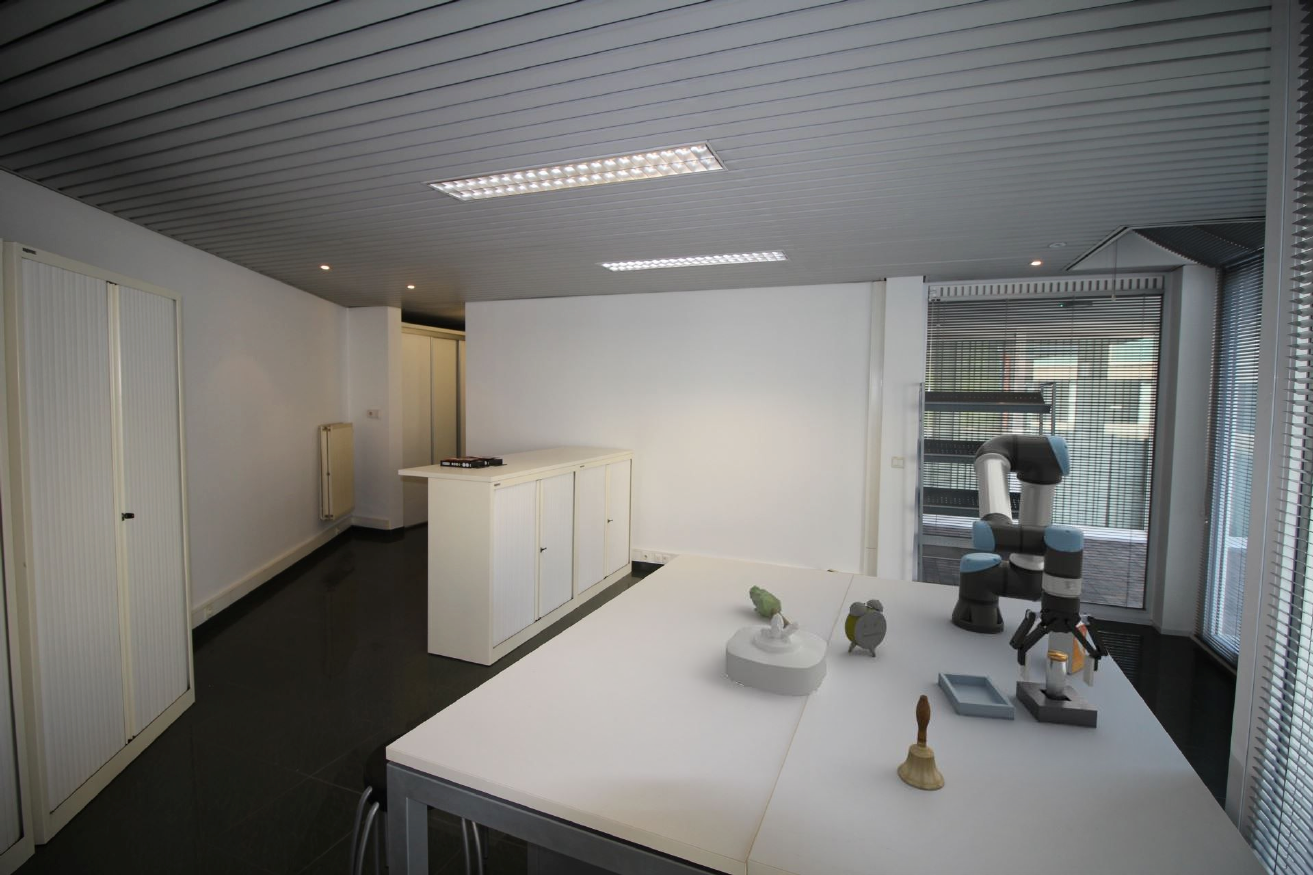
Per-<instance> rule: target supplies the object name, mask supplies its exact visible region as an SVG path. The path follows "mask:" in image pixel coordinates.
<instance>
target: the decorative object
mask: <svg viewBox="0 0 1313 875" xmlns="http://www.w3.org/2000/svg"><path fill="white" fill-rule="evenodd" d="M748 592H749V598H750V599H751V602H752V604H753V606H755V608H754V609H753V611H755V612H756V613H757V614H759V615H761V616H763V617H765V616H766V618H769V619H772V618H773V615H775V614H776V613H778V614H780V615H781V616H782V619H783V622H784V623H783V624H784V626H783V629H784V628H786V627H787V626H788V625H790V624H791V623H790V622H789V621H788V619H786V618H785V616H784V615H783V614H782V613H781V612H782V603H781V602H782V601H781V600H780V599H778V598H777V596H775V595H774V594H772V592H769V591H768V590H766V589H765V588H760V587H759V586H757V585H753V586H752V587H751V588H750V589H749V591H748Z"/></svg>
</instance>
